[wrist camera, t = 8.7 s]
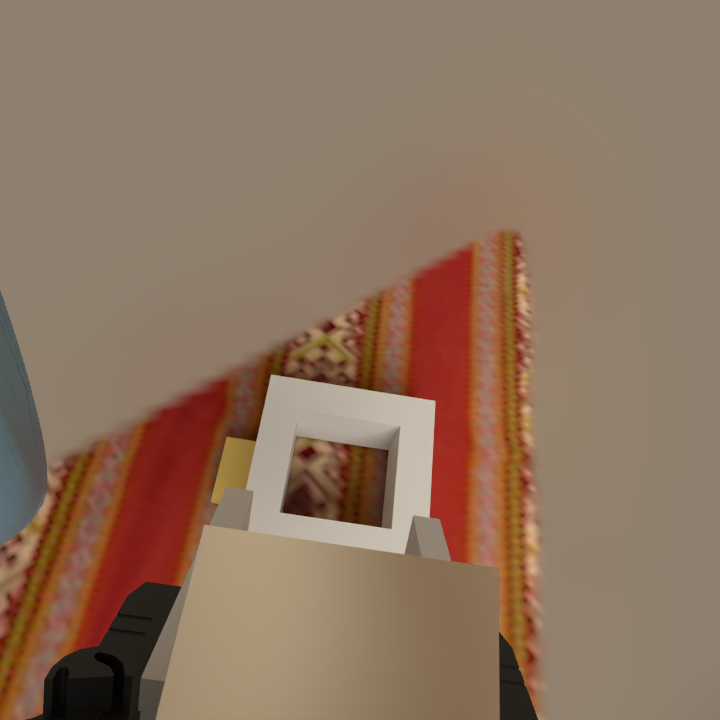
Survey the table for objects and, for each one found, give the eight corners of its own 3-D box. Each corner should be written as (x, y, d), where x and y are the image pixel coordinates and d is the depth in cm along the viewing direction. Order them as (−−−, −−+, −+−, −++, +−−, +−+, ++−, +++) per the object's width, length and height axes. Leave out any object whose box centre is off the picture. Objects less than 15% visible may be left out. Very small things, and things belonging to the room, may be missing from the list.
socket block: (198, 555, 32) (189, 539, 29) (238, 397, 37) (234, 368, 34) (410, 585, 33) (426, 574, 29) (420, 426, 38) (435, 400, 34)
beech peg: (204, 782, 16) (99, 939, 6) (240, 607, 18) (204, 524, 8) (364, 801, 16) (501, 982, 6) (380, 626, 18) (498, 567, 9)
